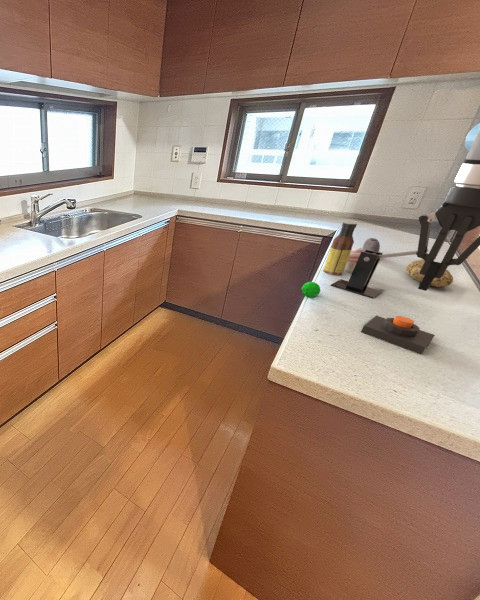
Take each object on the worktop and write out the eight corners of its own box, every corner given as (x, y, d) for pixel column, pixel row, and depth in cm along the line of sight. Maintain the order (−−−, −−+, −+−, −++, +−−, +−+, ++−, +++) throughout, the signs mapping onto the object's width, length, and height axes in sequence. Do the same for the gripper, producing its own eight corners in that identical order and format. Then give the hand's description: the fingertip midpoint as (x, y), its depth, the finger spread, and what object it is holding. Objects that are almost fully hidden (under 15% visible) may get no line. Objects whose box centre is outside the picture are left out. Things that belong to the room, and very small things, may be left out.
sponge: (402, 272, 132) (397, 274, 118) (417, 255, 128) (414, 254, 115) (443, 289, 124) (443, 292, 110) (460, 271, 120) (462, 272, 107)
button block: (430, 342, 83) (438, 328, 81) (420, 354, 77) (429, 341, 76) (372, 322, 91) (379, 309, 90) (360, 332, 86) (366, 319, 84)
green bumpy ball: (319, 296, 106) (324, 283, 104) (315, 300, 103) (320, 287, 101) (301, 291, 109) (306, 278, 107) (297, 295, 106) (302, 282, 104)
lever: (428, 253, 96) (427, 246, 96) (424, 257, 94) (423, 248, 93) (367, 260, 108) (366, 253, 108) (361, 263, 105) (360, 256, 105)
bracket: (380, 294, 109) (400, 255, 103) (371, 300, 104) (391, 260, 98) (339, 282, 118) (355, 245, 112) (329, 287, 113) (345, 249, 107)
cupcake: (358, 278, 122) (369, 253, 117) (330, 270, 128) (340, 246, 124) (367, 273, 126) (379, 249, 122) (340, 266, 133) (350, 242, 129)
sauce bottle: (341, 273, 125) (362, 222, 117) (341, 278, 121) (364, 225, 112) (321, 270, 129) (340, 220, 120) (321, 274, 124) (341, 223, 115)
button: (412, 326, 82) (415, 320, 82) (408, 330, 81) (412, 324, 80) (394, 320, 85) (397, 314, 84) (390, 324, 83) (393, 318, 82)
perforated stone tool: (377, 261, 140) (384, 246, 137) (362, 259, 143) (368, 243, 140) (374, 253, 151) (380, 238, 148) (359, 250, 154) (366, 236, 151)
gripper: (528, 189, 65) (464, 294, 76) (438, 182, 75) (393, 276, 85) (525, 191, 61) (458, 302, 72) (431, 184, 71) (384, 283, 81)
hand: (423, 288), depth 78 cm, fingers closed
